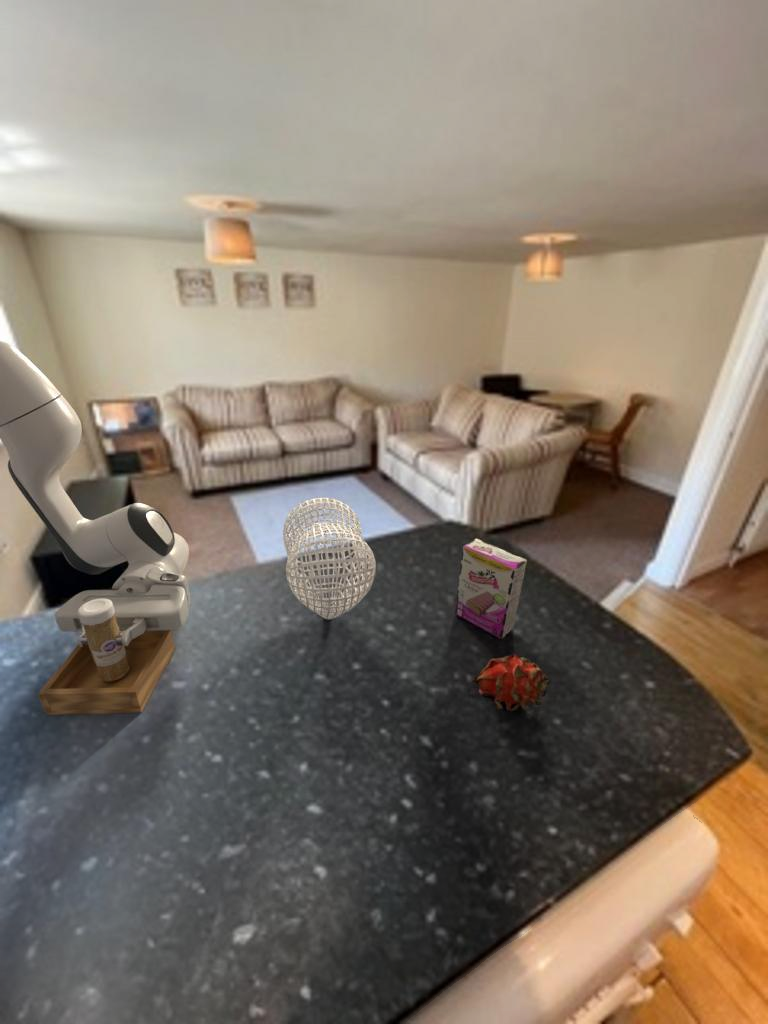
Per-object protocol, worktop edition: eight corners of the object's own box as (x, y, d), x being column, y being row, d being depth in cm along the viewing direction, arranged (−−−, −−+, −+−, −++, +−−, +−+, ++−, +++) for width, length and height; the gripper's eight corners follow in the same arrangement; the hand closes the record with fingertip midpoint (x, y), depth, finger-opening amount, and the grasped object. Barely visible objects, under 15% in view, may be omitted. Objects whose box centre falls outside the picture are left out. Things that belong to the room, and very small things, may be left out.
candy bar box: (453, 615, 91) (461, 545, 84) (467, 605, 95) (475, 537, 88) (501, 642, 84) (514, 568, 77) (514, 630, 88) (528, 558, 81)
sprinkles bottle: (110, 687, 71) (88, 619, 65) (93, 676, 73) (70, 609, 67) (136, 668, 74) (118, 602, 69) (120, 658, 76) (100, 593, 71)
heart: (381, 658, 80) (385, 550, 70) (293, 671, 76) (285, 560, 67) (354, 573, 104) (354, 485, 95) (286, 580, 101) (279, 490, 91)
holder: (45, 715, 67) (37, 694, 65) (95, 649, 80) (89, 630, 78) (141, 712, 68) (135, 692, 66) (175, 648, 81) (171, 629, 79)
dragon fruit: (549, 713, 72) (473, 714, 73) (540, 658, 76) (469, 661, 78) (559, 708, 64) (475, 709, 66) (549, 647, 69) (469, 650, 70)
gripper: (77, 576, 80) (26, 628, 68) (194, 576, 81) (164, 626, 69) (86, 605, 83) (38, 659, 70) (199, 604, 84) (171, 657, 72)
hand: (102, 643), depth 70 cm, fingers closed on sprinkles bottle, 4 cm apart
